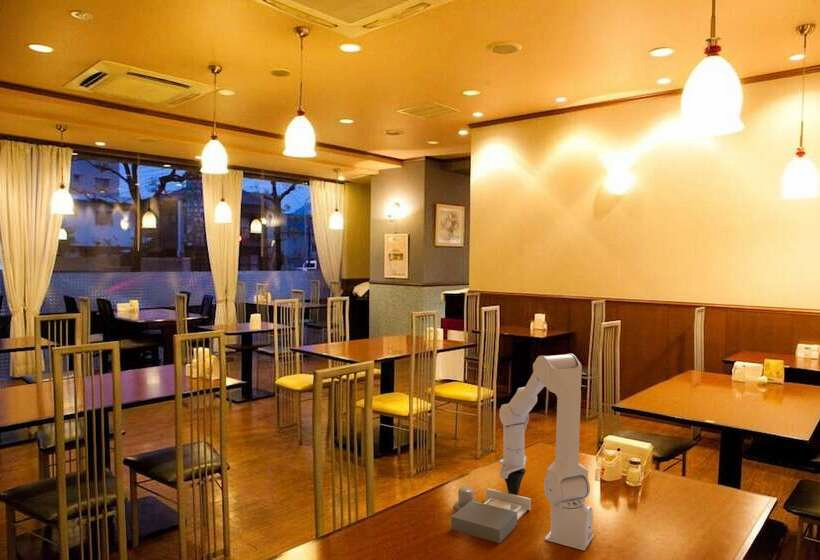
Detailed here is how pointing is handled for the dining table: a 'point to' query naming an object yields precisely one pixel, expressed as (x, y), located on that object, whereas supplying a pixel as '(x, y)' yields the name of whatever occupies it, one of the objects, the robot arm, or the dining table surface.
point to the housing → (484, 521)
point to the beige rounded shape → (500, 504)
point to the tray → (509, 501)
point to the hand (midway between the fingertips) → (513, 495)
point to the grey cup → (464, 497)
